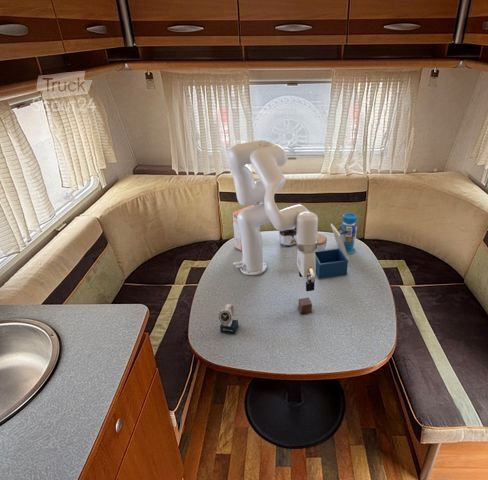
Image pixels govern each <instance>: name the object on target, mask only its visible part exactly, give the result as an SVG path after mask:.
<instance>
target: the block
mask: <svg viewBox="0 0 488 480" xmlns="http://www.w3.org/2000/svg"><path fill="white" fill-rule="evenodd" d="M298 309H299V312H300V315H305V314H311V313H312V312H313V303H312V301H311V298H310V297H302V298H298Z"/></svg>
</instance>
